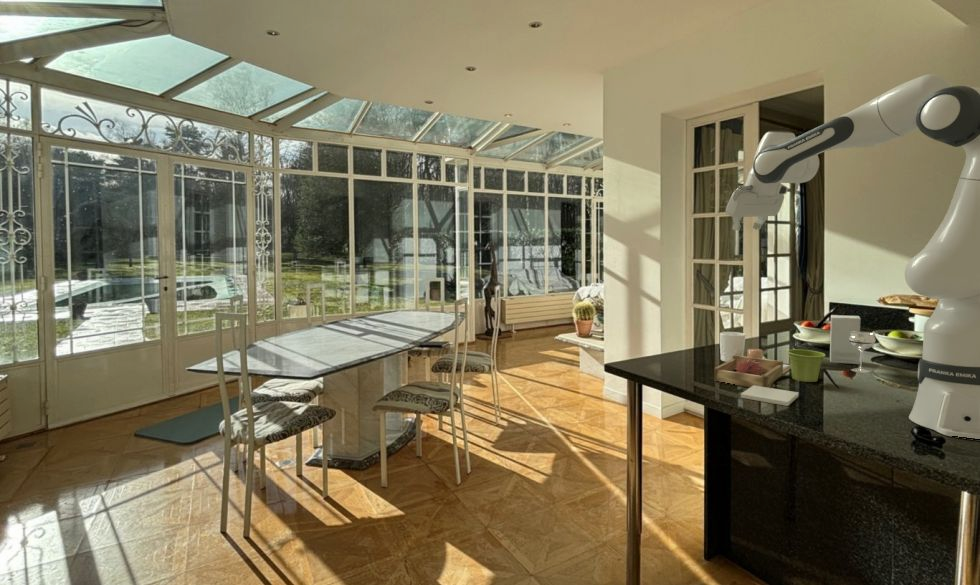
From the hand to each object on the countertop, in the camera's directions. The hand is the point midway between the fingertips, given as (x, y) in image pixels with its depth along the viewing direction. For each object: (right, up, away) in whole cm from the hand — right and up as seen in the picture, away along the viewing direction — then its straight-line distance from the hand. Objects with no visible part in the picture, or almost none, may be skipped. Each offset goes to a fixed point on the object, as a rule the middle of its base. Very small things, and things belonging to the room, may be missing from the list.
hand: (746, 229), depth 161 cm
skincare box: (+40, -43, +13) cm, 60 cm away
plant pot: (+11, -46, -11) cm, 49 cm away
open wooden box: (-3, -45, -8) cm, 46 cm away
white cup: (+2, -44, +14) cm, 46 cm away
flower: (-3, -46, -8) cm, 47 cm away
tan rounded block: (+6, -43, +6) cm, 44 cm away
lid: (+8, -44, +5) cm, 45 cm away
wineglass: (+36, -44, +1) cm, 57 cm away
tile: (-6, -47, -25) cm, 54 cm away
